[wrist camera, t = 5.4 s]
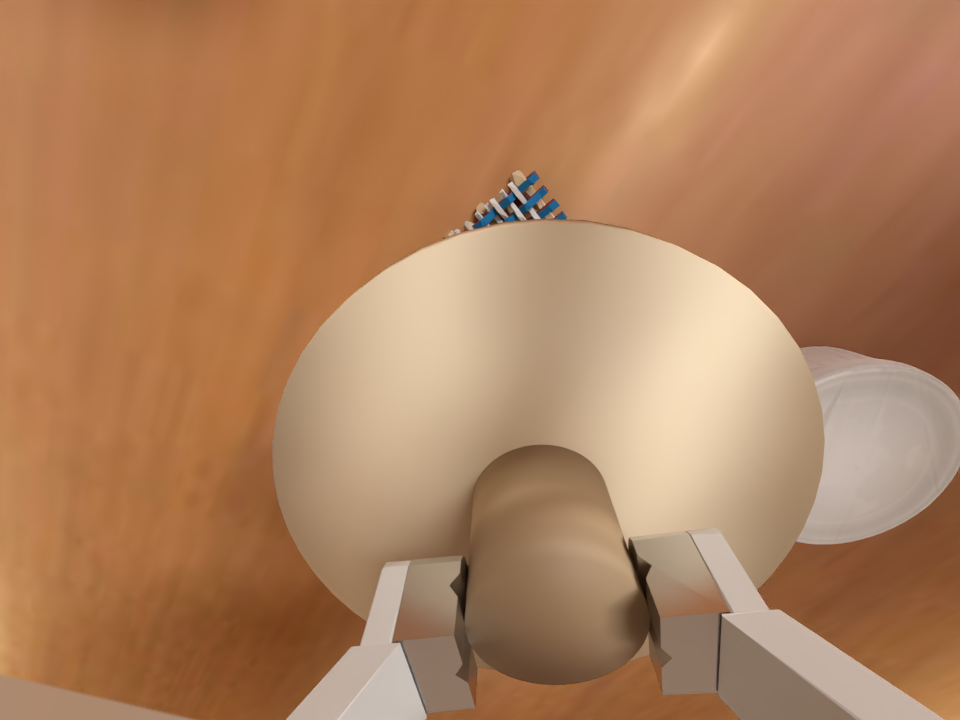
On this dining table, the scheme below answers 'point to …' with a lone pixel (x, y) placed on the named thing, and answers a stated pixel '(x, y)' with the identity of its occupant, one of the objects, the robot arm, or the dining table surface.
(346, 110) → the dining table surface
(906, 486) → the ramekin
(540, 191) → the woven mat
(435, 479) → the drop lid
